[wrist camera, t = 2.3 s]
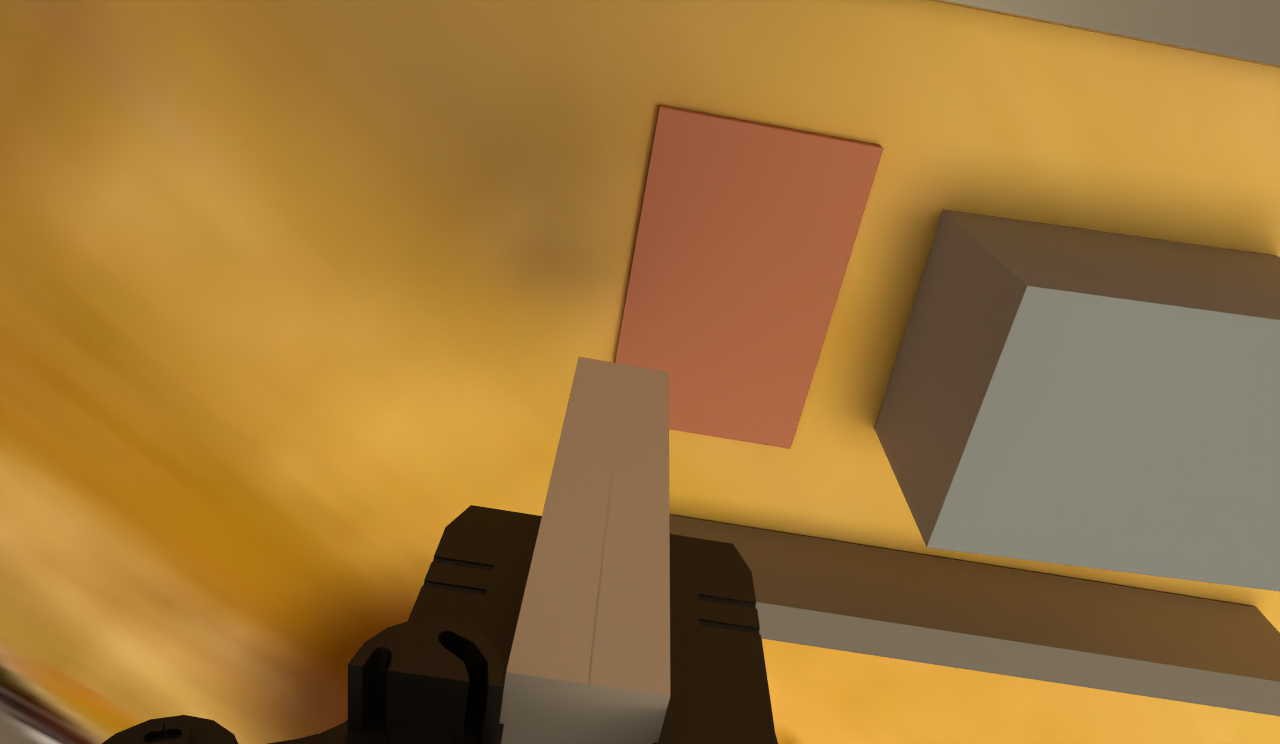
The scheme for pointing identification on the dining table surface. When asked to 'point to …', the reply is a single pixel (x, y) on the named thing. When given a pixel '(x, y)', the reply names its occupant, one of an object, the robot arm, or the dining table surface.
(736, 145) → the track
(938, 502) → the block
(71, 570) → the dining table surface
